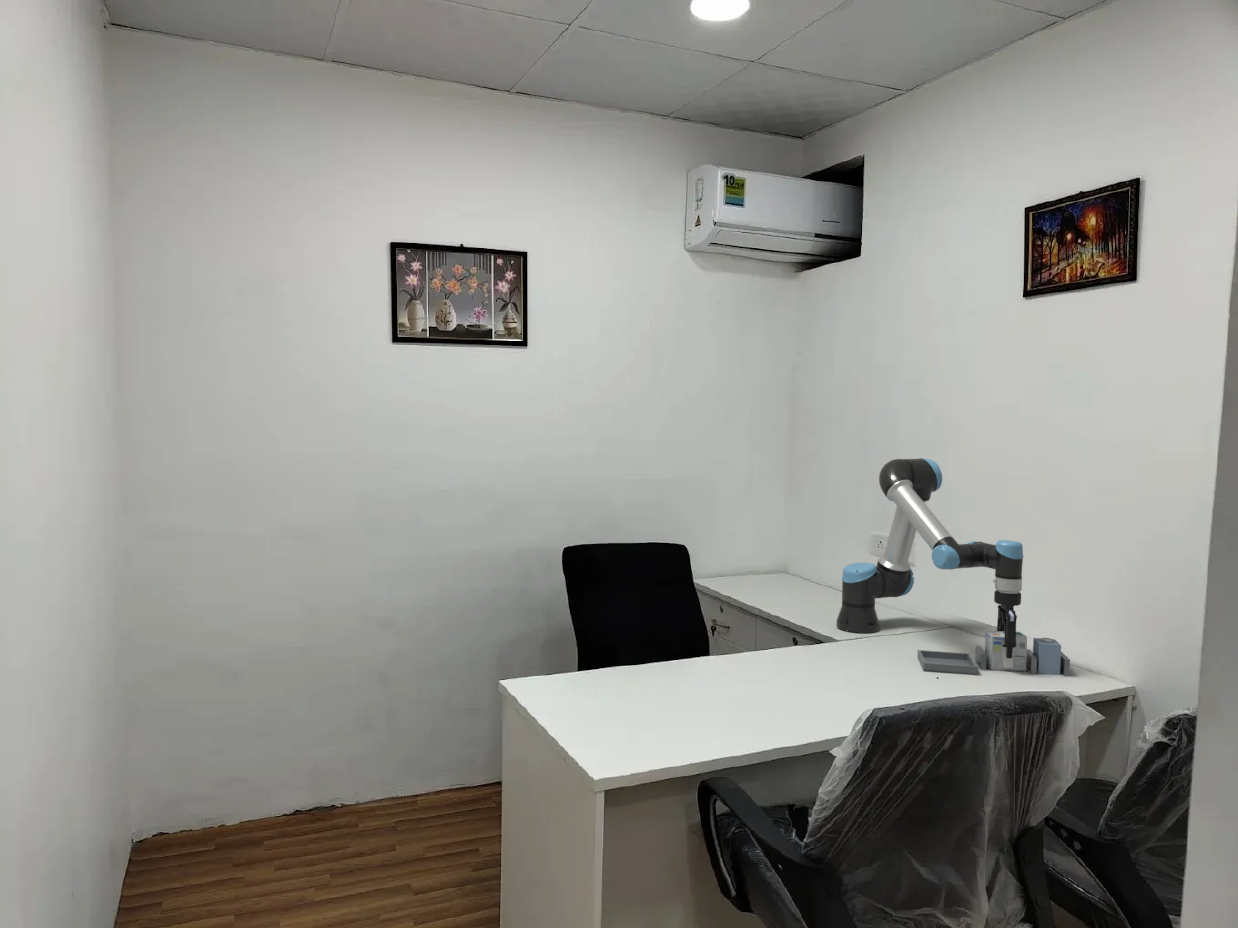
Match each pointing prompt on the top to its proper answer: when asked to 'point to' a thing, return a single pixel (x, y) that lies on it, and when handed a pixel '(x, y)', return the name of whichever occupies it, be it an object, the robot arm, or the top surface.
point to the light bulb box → (996, 651)
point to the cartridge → (1047, 655)
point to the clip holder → (1030, 661)
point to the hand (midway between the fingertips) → (1005, 663)
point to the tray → (947, 662)
